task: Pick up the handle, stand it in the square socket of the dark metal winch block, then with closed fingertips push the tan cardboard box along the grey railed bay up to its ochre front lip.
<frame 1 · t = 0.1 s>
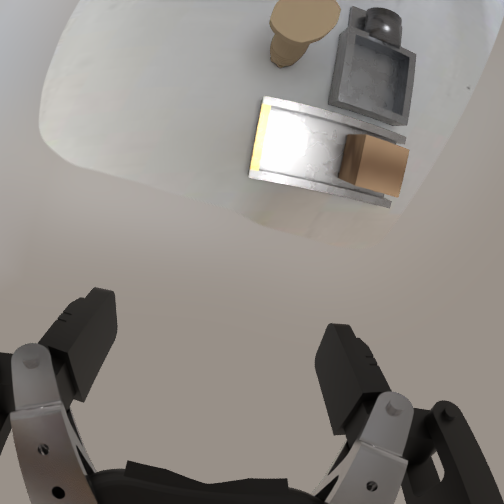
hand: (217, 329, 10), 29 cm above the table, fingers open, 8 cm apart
handle: (282, 58, 31), on the table
tan cardboard box: (372, 164, 32), point 4 cm above the table, slide at 0.0 cm
winch: (368, 79, 32), on the table
bay: (326, 151, 36), on the table
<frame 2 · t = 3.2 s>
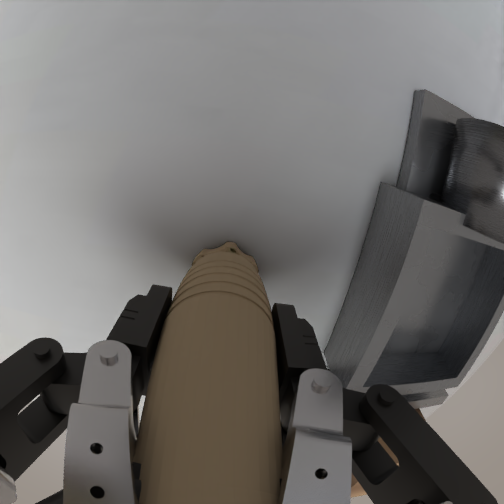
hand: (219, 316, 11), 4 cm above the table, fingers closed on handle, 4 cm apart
handle: (225, 267, 15), on the table, touching gripper
tan cardboard box: (377, 449, 16), point 4 cm above the table, slide at 0.0 cm
winch: (419, 287, 16), on the table
bay: (308, 412, 20), on the table
when the fingers open (7 cm above the table, at t = 9.0 s): handle drops 2 cm, resting on winch.
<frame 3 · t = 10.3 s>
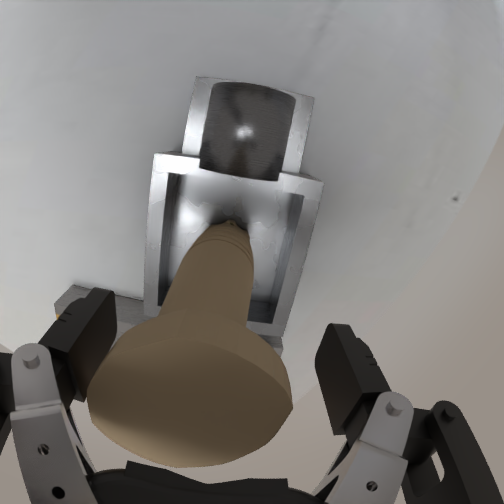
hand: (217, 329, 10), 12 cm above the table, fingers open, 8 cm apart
handle: (227, 239, 21), point 1 cm above the table, touching winch
winch: (227, 235, 21), on the table
bay: (166, 349, 25), on the table
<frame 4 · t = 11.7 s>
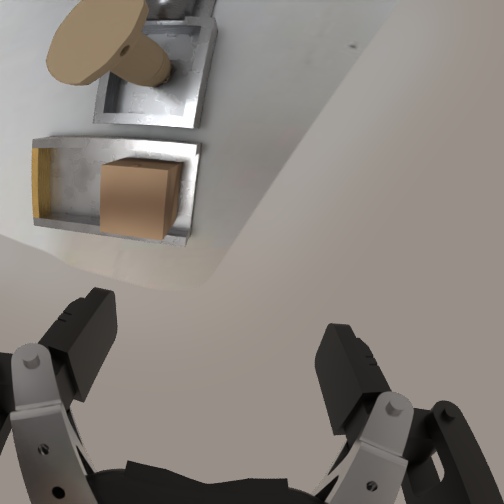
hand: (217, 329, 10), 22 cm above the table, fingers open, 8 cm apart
handle: (158, 73, 23), point 1 cm above the table, touching winch
tan cardboard box: (141, 194, 25), point 4 cm above the table, slide at 0.0 cm
winch: (160, 74, 24), on the table
bay: (112, 181, 28), on the table
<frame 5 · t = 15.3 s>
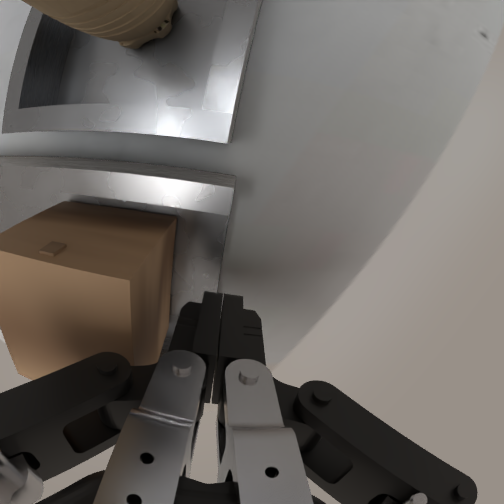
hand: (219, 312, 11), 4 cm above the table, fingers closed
handle: (146, 22, 9), point 1 cm above the table, touching winch
tan cardboard box: (88, 297, 10), point 4 cm above the table, slide at 0.8 cm, touching gripper
winch: (151, 27, 10), on the table
bay: (60, 244, 14), on the table
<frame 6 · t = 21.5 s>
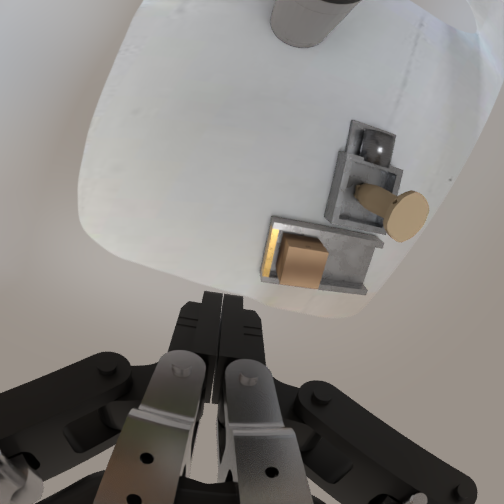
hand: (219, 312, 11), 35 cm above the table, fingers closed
handle: (361, 191, 44), point 1 cm above the table, touching winch
tan cardboard box: (300, 260, 44), point 4 cm above the table, slide at 9.4 cm
winch: (359, 190, 45), on the table
bay: (319, 253, 49), on the table
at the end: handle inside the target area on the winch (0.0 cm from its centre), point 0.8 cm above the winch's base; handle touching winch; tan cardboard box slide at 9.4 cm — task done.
